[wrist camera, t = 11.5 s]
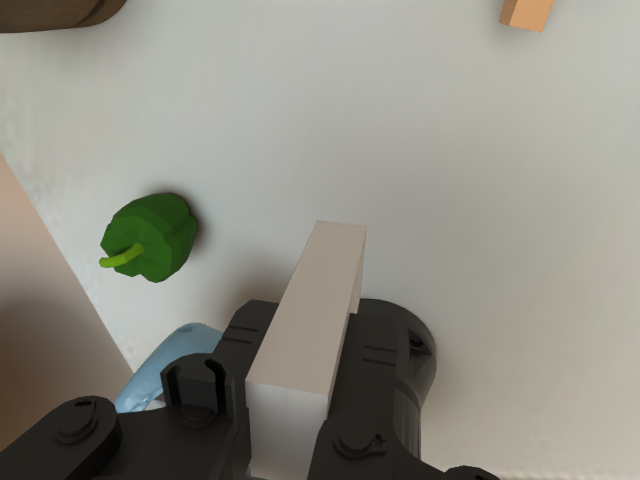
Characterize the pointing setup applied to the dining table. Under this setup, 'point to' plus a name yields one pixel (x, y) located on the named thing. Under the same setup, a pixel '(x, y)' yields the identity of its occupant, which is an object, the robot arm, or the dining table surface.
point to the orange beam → (526, 13)
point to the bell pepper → (150, 237)
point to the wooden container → (54, 14)
